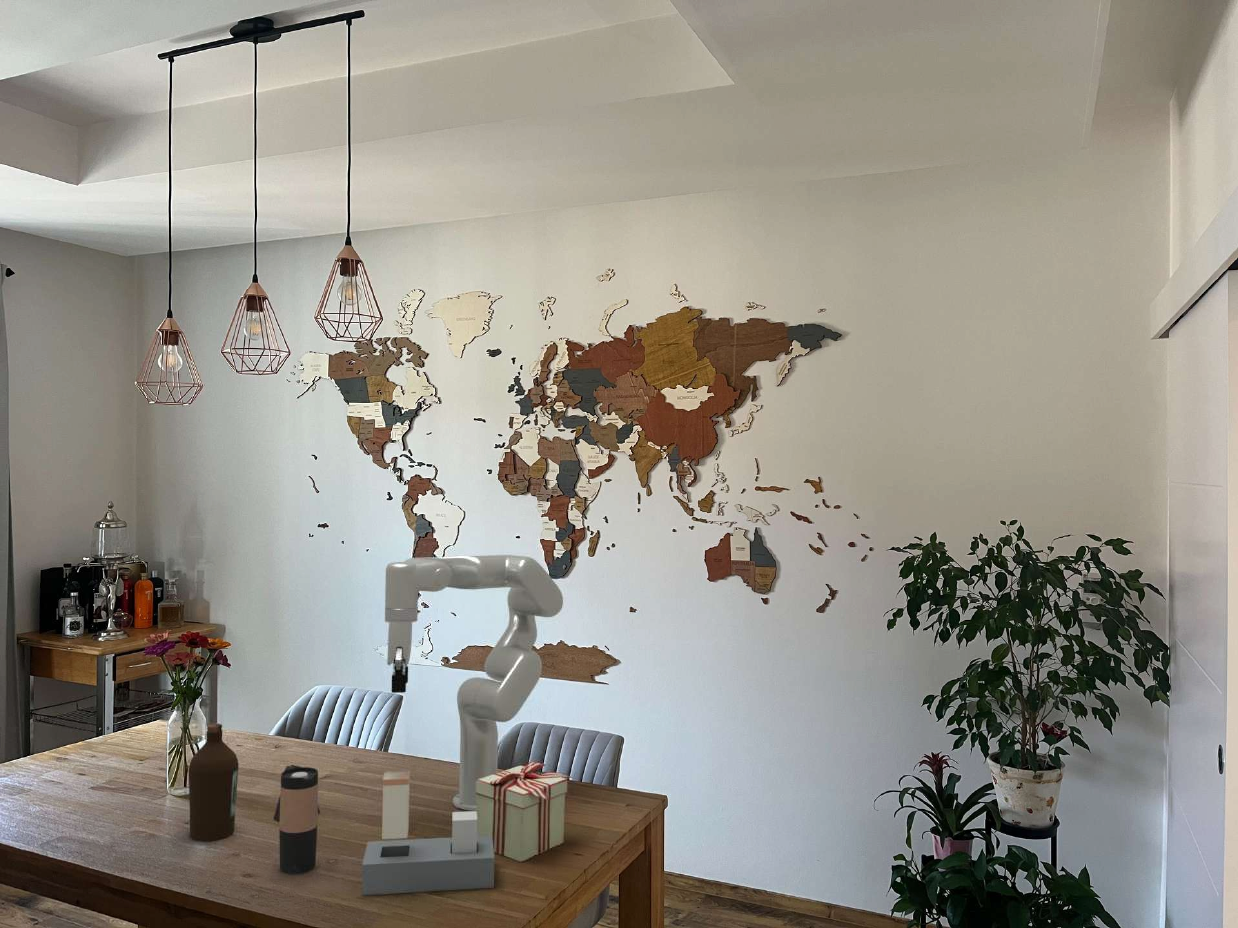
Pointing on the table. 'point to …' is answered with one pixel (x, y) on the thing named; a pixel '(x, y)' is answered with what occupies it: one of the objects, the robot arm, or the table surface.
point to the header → (431, 861)
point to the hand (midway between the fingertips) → (399, 687)
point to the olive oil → (213, 788)
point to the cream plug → (395, 805)
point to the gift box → (522, 810)
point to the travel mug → (298, 820)
